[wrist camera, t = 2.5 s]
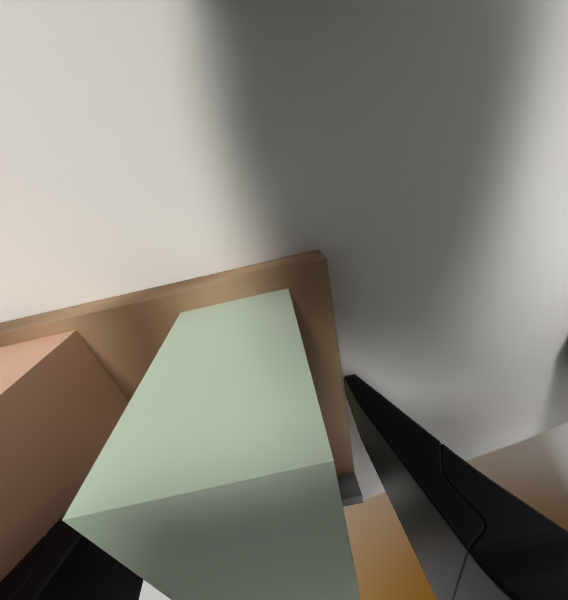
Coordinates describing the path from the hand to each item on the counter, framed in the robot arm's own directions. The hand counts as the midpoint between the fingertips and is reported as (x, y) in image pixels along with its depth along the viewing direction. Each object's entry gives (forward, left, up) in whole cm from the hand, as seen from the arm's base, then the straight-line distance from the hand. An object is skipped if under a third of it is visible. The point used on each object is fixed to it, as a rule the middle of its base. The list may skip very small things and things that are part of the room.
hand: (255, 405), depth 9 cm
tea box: (0, 0, -2) cm, 2 cm away
